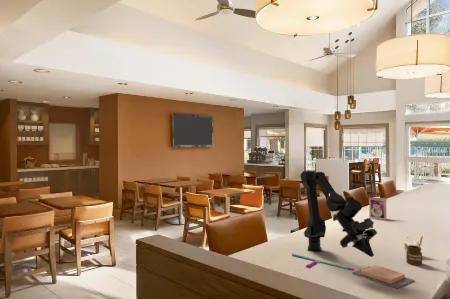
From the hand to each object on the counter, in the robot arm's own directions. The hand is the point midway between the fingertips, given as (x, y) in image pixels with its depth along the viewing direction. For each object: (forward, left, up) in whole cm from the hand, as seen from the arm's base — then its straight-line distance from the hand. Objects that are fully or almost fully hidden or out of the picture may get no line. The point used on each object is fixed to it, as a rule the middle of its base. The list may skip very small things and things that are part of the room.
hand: (372, 256), depth 129 cm
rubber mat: (+3, +3, -7) cm, 8 cm away
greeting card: (-115, +23, -7) cm, 117 cm away
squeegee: (-5, -22, -8) cm, 24 cm away
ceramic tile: (+3, +3, -6) cm, 7 cm away
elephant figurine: (-30, +22, -7) cm, 38 cm away
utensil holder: (-18, +20, -7) cm, 28 cm away
